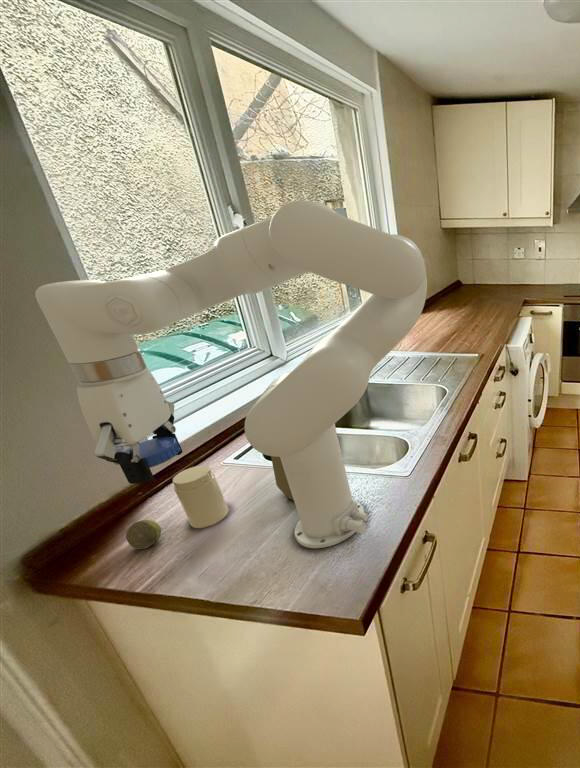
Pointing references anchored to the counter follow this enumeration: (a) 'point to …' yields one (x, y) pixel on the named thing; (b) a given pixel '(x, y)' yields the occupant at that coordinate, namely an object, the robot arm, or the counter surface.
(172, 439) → the lid
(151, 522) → the lime
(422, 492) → the counter surface
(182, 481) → the jar
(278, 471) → the squeeze bottle
